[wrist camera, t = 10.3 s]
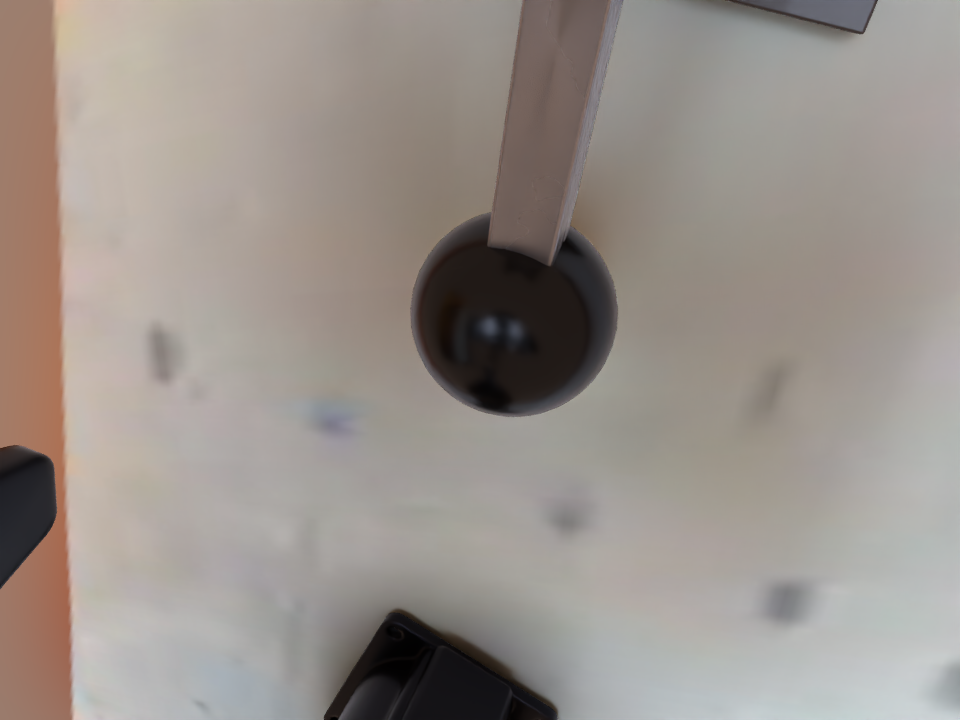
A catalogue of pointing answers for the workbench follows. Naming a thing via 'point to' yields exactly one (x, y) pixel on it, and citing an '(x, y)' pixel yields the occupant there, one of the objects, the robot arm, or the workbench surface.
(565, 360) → the lever
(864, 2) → the bracket
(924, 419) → the workbench surface
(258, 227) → the workbench surface
